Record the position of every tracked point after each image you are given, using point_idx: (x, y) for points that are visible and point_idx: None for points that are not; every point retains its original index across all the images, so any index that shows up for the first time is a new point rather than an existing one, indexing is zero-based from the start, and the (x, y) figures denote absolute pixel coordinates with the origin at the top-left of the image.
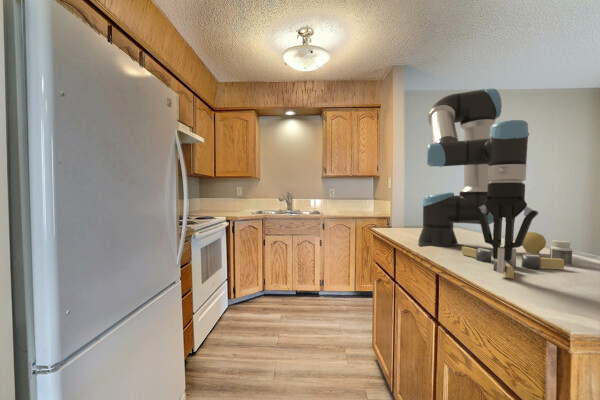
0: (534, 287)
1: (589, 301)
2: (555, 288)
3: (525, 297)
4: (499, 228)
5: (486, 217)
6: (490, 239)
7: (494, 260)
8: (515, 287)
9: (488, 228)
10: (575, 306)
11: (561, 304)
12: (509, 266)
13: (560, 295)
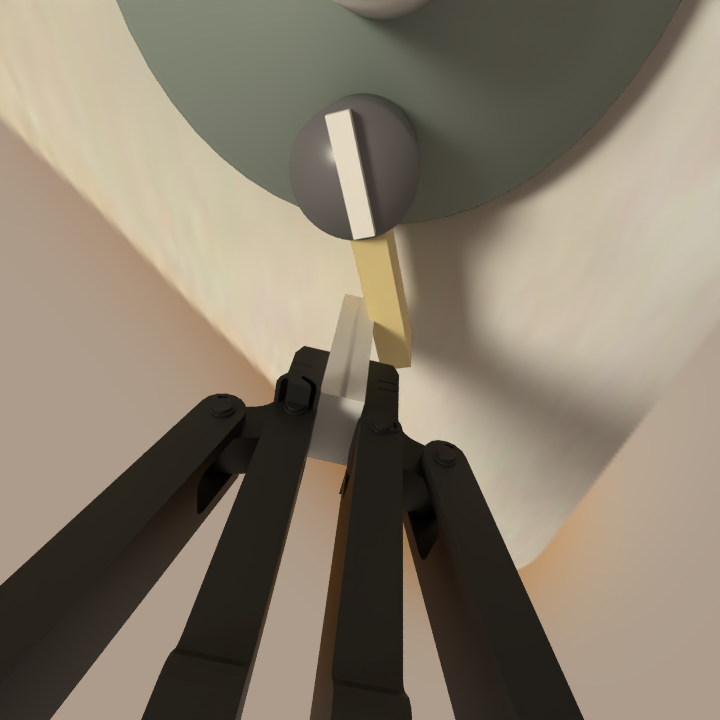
0: (501, 293)
1: (667, 365)
2: (607, 248)
3: (434, 435)
4: (268, 609)
5: (22, 687)
6: (232, 473)
7: (300, 203)
8: (416, 342)
9: (158, 545)
10: (575, 440)
11: (535, 443)
12: (391, 333)
13: (578, 350)
